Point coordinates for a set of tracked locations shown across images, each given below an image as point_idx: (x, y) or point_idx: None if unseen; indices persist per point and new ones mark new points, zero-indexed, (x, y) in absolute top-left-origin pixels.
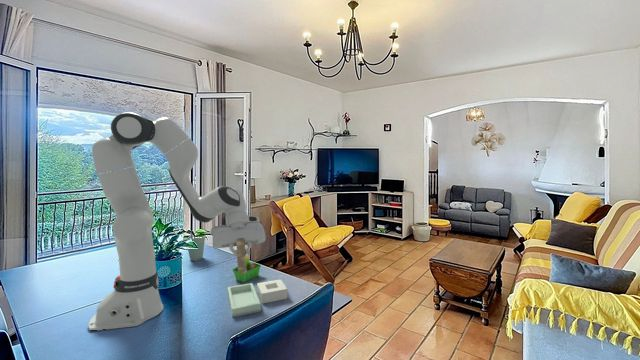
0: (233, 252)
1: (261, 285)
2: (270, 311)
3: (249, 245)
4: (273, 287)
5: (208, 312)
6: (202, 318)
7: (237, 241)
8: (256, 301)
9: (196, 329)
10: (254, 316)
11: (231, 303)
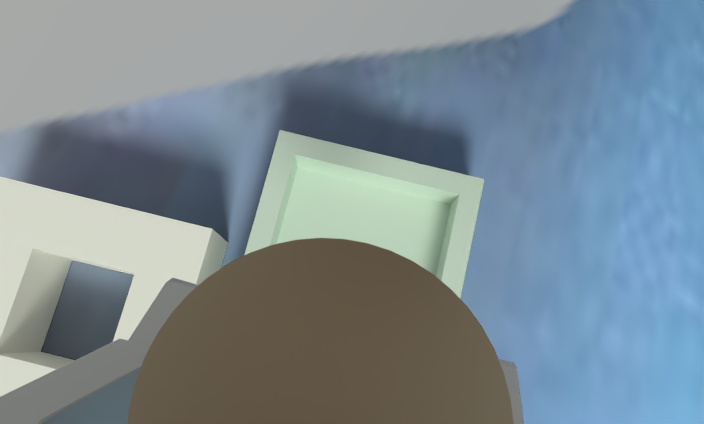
0: (515, 387)
1: None
2: (232, 111)
3: (72, 387)
4: (41, 359)
5: (594, 364)
6: (644, 306)
7: (482, 354)
8: (285, 189)
9: (695, 195)
10: (345, 118)
11: (461, 264)
